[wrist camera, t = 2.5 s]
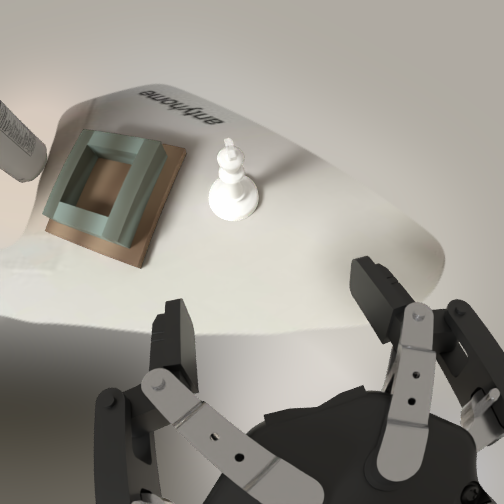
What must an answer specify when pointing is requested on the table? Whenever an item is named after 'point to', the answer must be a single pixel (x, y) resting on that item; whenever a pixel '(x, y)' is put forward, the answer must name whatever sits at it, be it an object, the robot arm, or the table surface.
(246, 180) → the chess piece
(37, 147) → the energy drink can
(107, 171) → the socket board
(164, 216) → the table surface
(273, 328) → the table surface
